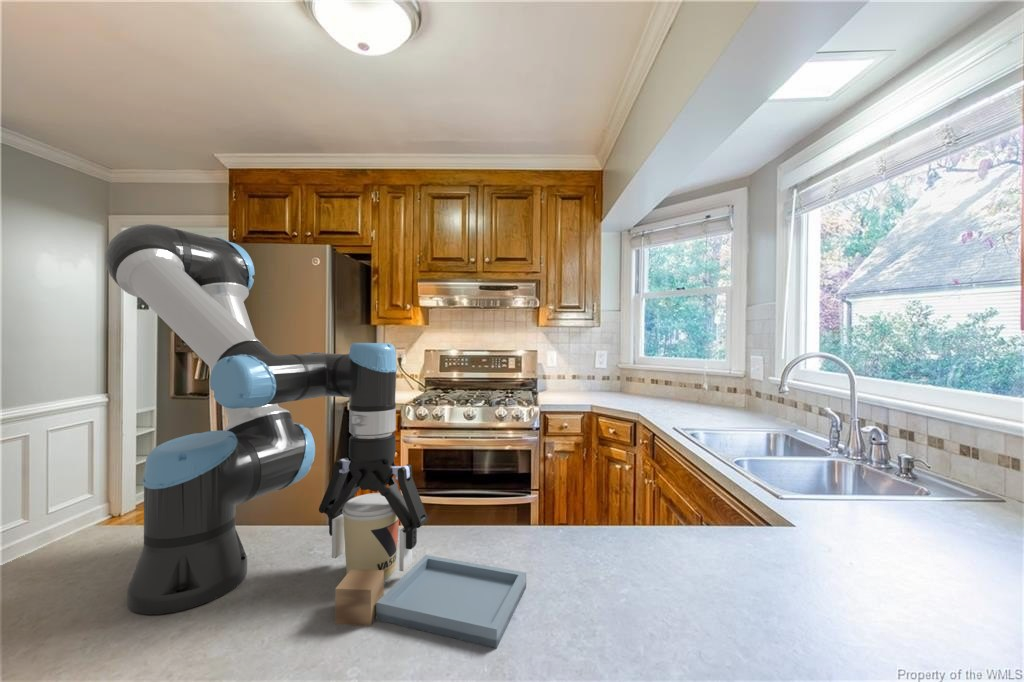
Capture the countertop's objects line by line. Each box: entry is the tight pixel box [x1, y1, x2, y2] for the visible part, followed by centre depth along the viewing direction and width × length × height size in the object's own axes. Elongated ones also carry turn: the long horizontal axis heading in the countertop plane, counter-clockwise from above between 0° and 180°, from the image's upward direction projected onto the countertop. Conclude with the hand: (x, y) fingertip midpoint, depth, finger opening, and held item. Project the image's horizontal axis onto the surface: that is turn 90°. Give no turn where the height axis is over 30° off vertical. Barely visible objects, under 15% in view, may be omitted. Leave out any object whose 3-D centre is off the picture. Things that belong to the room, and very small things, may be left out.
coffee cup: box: [342, 492, 400, 582], centre depth 71 cm, size 9×9×12 cm
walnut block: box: [334, 569, 385, 627], centre depth 61 cm, size 5×5×5 cm
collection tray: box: [375, 554, 527, 649], centre depth 63 cm, size 18×14×2 cm
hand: (371, 560), depth 71 cm, fingers open, 12 cm apart
